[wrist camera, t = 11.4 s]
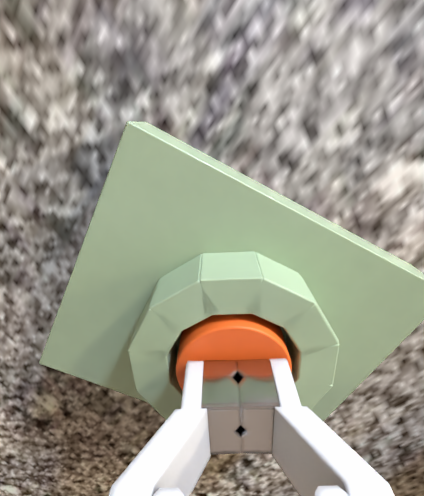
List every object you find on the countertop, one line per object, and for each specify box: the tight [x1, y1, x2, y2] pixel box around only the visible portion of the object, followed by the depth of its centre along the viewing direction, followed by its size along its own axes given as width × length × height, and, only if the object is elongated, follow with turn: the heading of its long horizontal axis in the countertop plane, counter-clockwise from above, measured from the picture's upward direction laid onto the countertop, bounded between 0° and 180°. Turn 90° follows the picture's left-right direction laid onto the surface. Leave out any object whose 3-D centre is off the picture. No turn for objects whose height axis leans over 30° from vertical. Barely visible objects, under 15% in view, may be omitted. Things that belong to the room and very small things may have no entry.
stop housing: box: [39, 121, 424, 421], centre depth 11 cm, size 12×10×4 cm
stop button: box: [176, 314, 292, 391], centre depth 10 cm, size 4×4×2 cm
